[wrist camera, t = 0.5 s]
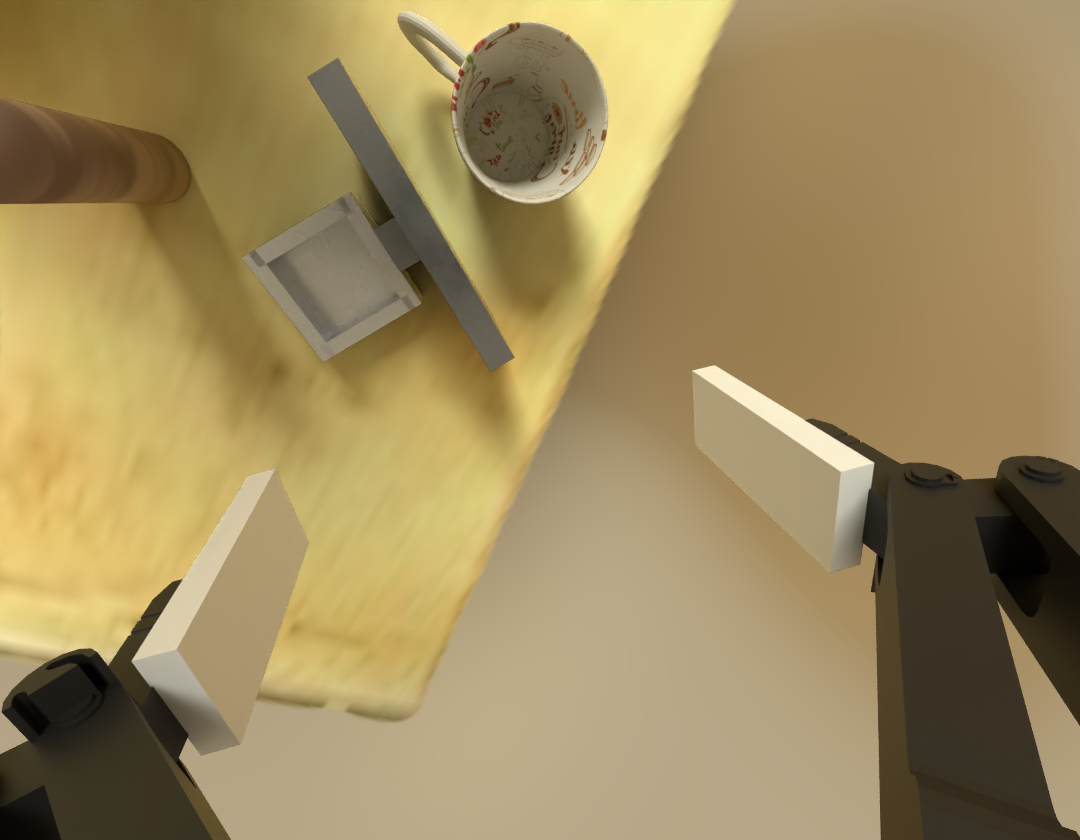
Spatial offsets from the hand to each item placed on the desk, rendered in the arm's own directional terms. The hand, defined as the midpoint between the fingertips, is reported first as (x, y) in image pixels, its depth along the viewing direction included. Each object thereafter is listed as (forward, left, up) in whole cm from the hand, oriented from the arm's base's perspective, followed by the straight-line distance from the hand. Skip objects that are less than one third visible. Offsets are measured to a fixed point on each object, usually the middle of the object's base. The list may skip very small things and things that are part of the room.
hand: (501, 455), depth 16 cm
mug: (-10, +8, -26) cm, 29 cm away
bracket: (-6, -4, -26) cm, 27 cm away
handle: (-17, -12, -26) cm, 33 cm away
